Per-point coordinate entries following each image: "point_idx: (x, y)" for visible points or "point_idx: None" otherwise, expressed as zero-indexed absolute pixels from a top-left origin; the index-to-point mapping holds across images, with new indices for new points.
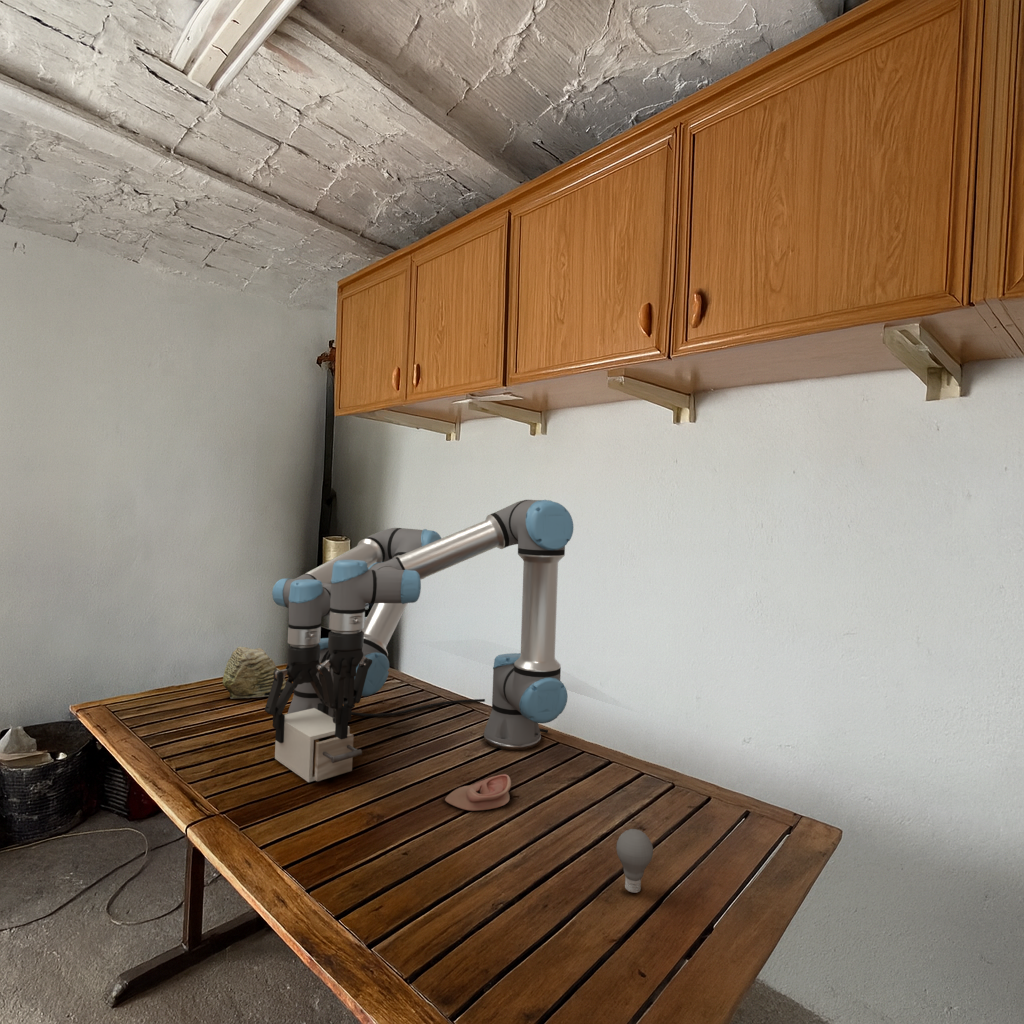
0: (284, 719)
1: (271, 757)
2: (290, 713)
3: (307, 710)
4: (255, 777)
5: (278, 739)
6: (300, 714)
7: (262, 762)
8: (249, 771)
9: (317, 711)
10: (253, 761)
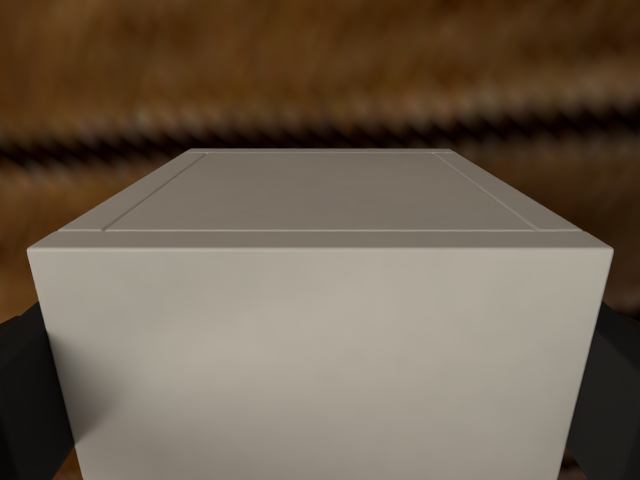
0: (61, 463)
1: (181, 113)
2: (235, 257)
3: (478, 286)
4: (30, 306)
5: None
6: (324, 362)
7: (110, 151)
8: (16, 222)
9: (545, 387)
10: (65, 101)
